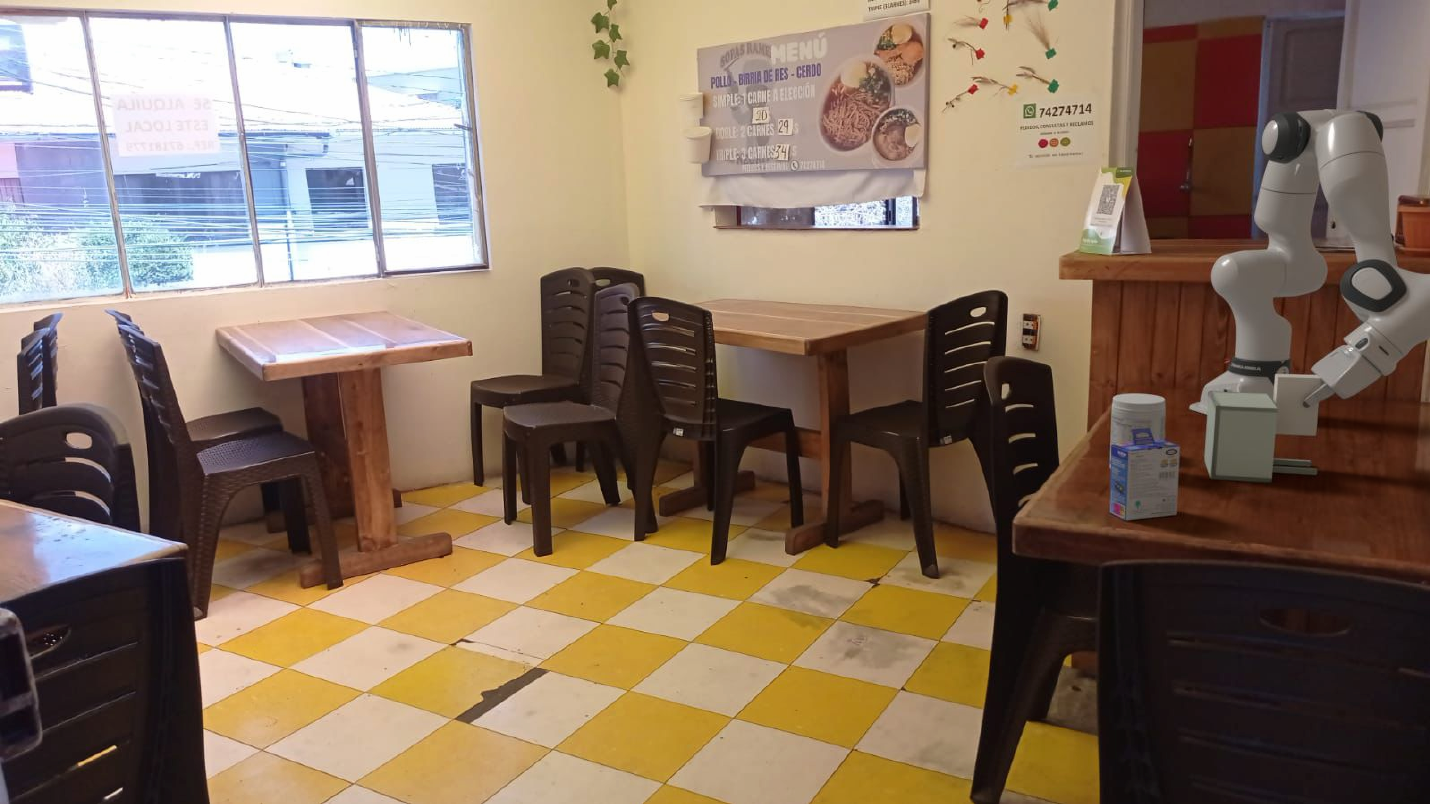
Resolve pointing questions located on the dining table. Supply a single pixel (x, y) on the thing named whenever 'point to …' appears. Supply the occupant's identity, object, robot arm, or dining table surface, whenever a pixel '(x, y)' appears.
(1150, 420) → the supplement tub
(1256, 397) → the cabinet
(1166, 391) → the dining table surface
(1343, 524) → the dining table surface
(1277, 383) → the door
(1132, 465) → the ink cartridge box
